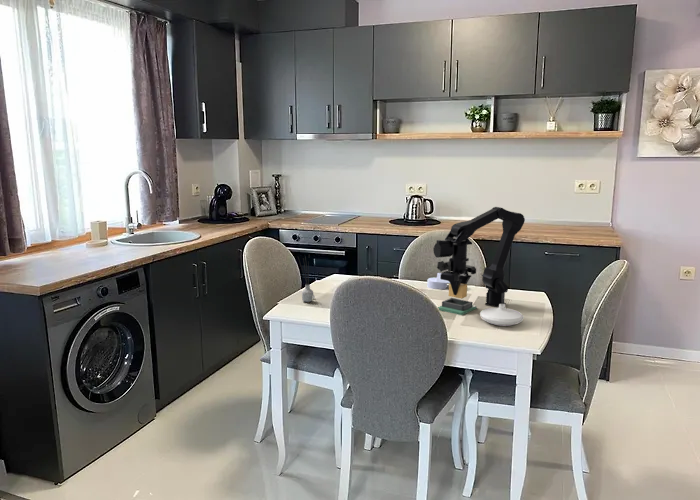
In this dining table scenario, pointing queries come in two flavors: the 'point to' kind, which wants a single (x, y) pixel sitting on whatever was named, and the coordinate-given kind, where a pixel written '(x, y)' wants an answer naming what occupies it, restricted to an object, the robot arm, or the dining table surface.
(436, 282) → the wedge on round base
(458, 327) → the dining table surface
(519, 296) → the dining table surface
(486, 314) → the vase
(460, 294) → the plug
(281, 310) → the dining table surface
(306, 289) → the reed diffuser
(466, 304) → the socket board
